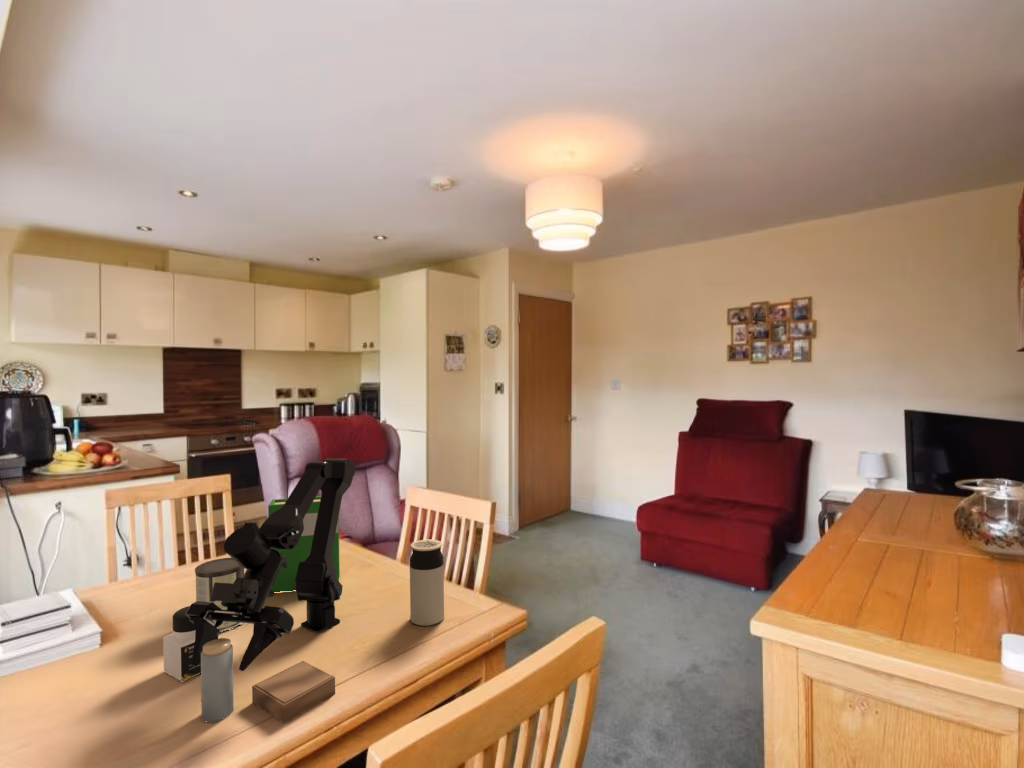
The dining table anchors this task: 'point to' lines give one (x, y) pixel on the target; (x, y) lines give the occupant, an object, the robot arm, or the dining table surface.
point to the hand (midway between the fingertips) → (217, 667)
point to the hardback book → (301, 547)
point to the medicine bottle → (180, 648)
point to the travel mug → (426, 582)
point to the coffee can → (219, 573)
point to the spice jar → (217, 680)
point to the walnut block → (293, 691)
